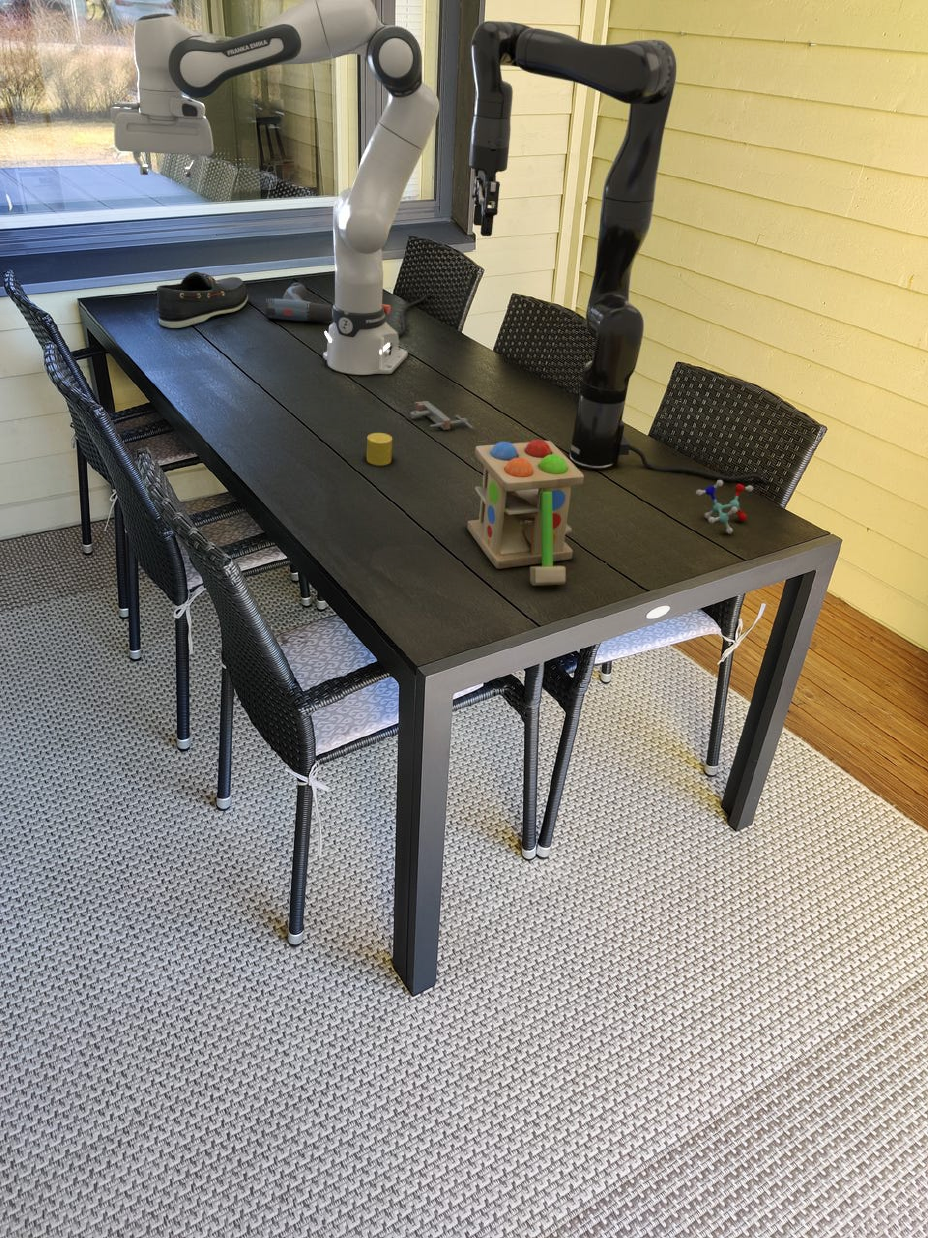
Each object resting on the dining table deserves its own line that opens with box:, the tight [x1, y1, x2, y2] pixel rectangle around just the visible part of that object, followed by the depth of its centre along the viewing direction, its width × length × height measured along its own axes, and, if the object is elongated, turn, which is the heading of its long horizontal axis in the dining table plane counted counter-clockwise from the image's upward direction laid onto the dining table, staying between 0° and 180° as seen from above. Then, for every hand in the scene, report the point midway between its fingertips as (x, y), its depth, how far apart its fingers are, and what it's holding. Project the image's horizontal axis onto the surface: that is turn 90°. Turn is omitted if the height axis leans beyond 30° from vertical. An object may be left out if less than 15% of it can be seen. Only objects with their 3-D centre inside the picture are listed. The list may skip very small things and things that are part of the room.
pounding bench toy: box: [466, 439, 585, 587], centre depth 163 cm, size 23×14×18 cm, turn 20°
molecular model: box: [695, 479, 754, 535], centre depth 183 cm, size 12×10×10 cm
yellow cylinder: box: [366, 432, 393, 466], centre depth 194 cm, size 5×5×5 cm
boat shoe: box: [155, 271, 249, 329], centre depth 258 cm, size 13×33×10 cm, turn 147°
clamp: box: [409, 400, 476, 432], centre depth 212 cm, size 15×2×10 cm
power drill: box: [264, 282, 333, 322], centre depth 265 cm, size 5×19×20 cm
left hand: (167, 175), depth 212 cm, fingers open, 8 cm apart
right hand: (482, 230), depth 198 cm, fingers open, 8 cm apart
